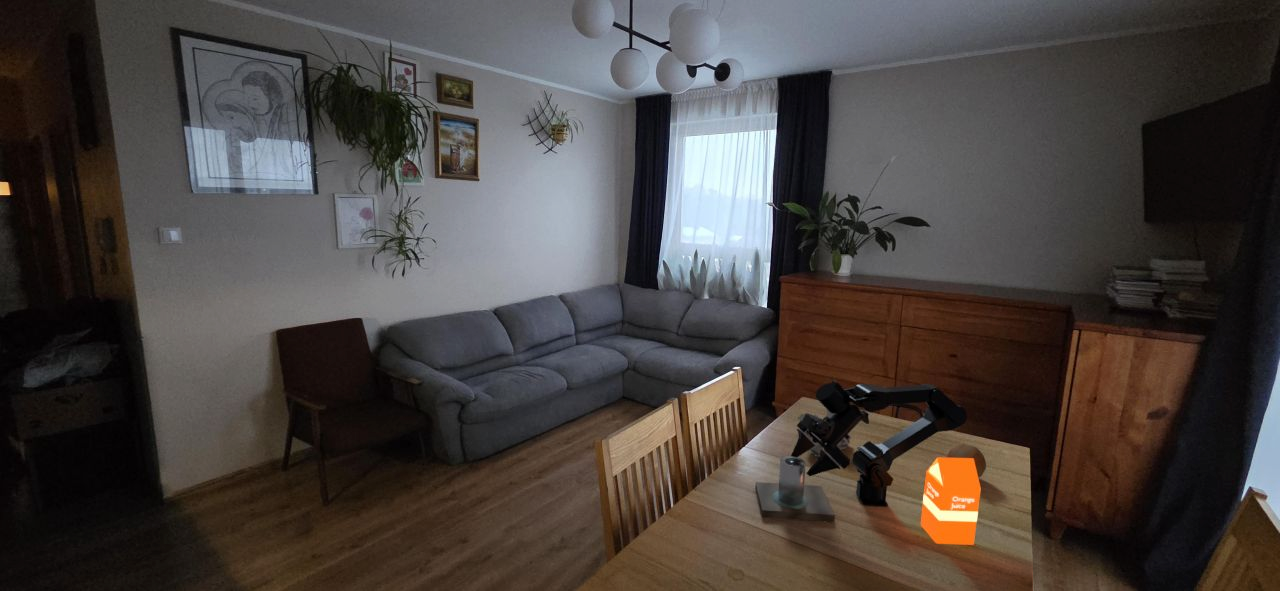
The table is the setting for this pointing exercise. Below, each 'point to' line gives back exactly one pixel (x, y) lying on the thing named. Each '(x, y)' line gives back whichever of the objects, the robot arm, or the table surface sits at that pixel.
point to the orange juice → (951, 501)
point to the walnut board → (810, 509)
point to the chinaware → (817, 446)
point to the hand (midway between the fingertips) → (799, 466)
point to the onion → (969, 456)
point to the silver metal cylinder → (791, 480)
